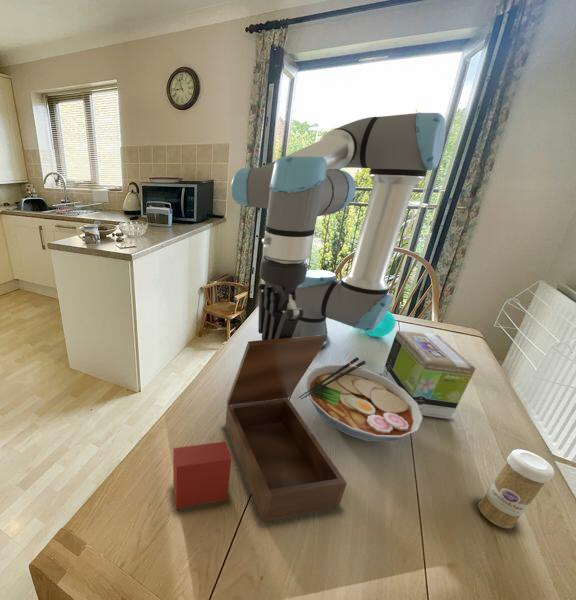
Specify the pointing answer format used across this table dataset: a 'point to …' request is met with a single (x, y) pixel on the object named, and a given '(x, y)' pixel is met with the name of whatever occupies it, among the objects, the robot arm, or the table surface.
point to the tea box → (428, 372)
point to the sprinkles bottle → (515, 488)
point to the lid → (273, 368)
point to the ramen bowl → (362, 402)
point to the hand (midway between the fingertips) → (266, 371)
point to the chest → (282, 459)
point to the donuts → (383, 326)
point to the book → (201, 473)
